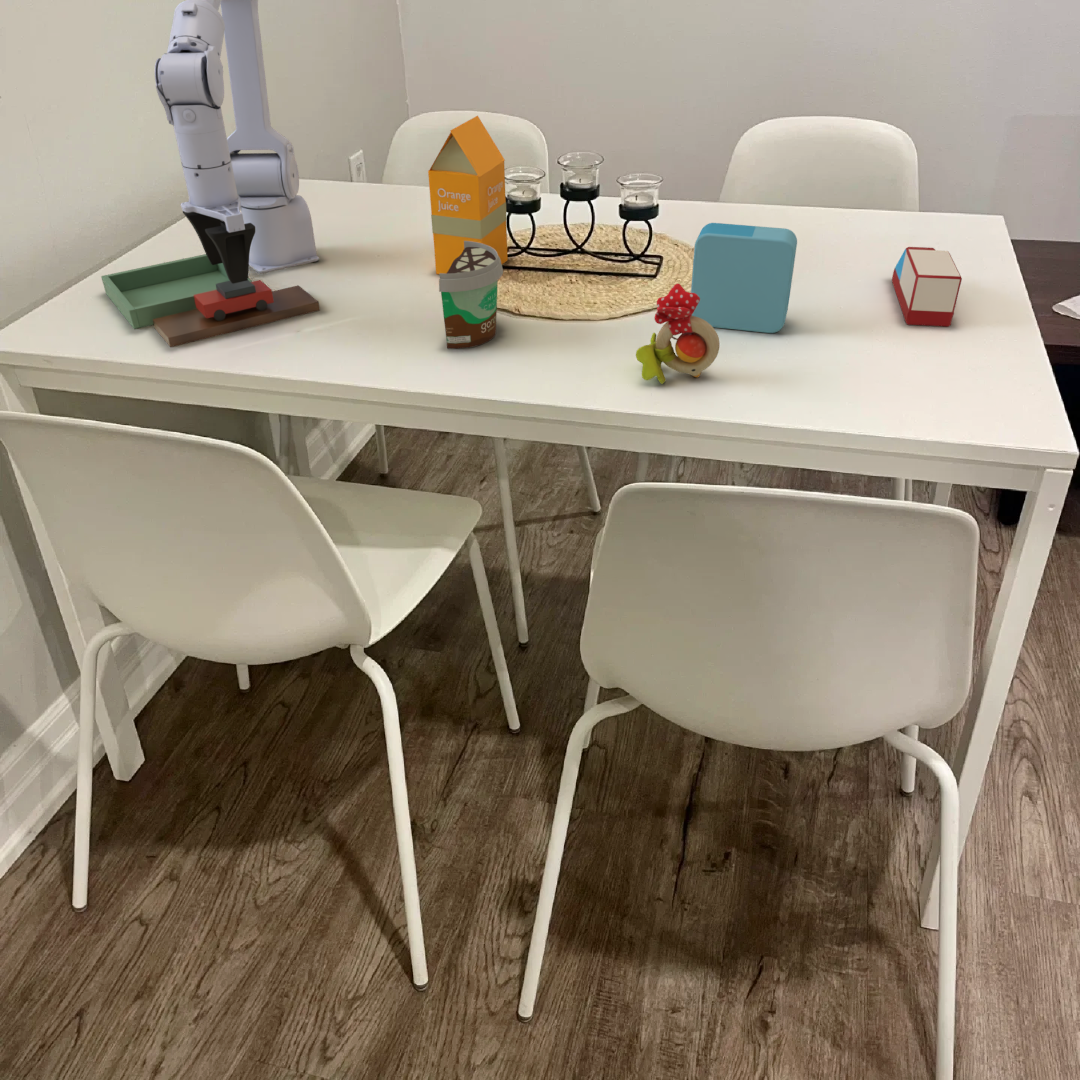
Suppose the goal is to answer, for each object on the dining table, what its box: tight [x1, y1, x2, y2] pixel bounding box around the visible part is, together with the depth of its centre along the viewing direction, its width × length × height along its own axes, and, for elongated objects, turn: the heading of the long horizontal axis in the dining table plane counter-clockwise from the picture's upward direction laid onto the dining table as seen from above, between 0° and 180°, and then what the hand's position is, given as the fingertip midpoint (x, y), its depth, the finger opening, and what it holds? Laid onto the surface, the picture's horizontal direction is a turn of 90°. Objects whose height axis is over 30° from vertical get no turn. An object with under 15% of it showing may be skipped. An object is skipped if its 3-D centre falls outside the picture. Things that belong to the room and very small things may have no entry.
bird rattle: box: [635, 283, 721, 385], centre depth 114 cm, size 6×11×9 cm
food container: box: [438, 241, 504, 350], centre depth 124 cm, size 12×6×10 cm, turn 168°
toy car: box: [194, 279, 274, 321], centre depth 129 cm, size 9×4×3 cm, turn 123°
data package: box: [690, 222, 798, 334], centre depth 125 cm, size 12×4×12 cm, turn 73°
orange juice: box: [427, 115, 509, 275], centre depth 140 cm, size 8×9×20 cm
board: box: [153, 284, 321, 348], centre depth 131 cm, size 20×7×2 cm, turn 123°
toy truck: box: [891, 246, 963, 328], centre depth 131 cm, size 6×15×7 cm, turn 171°
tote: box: [100, 253, 253, 330], centre depth 137 cm, size 17×15×3 cm
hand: (229, 271), depth 128 cm, fingers open, 7 cm apart
